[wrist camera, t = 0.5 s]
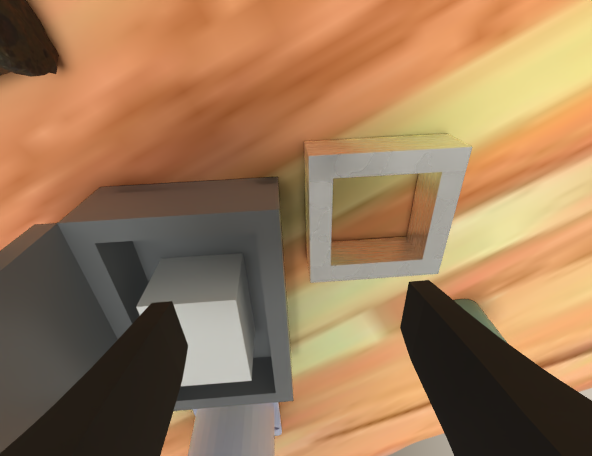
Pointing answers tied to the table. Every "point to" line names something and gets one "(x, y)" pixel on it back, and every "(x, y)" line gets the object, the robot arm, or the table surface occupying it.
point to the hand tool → (24, 41)
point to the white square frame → (376, 162)
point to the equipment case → (148, 293)
